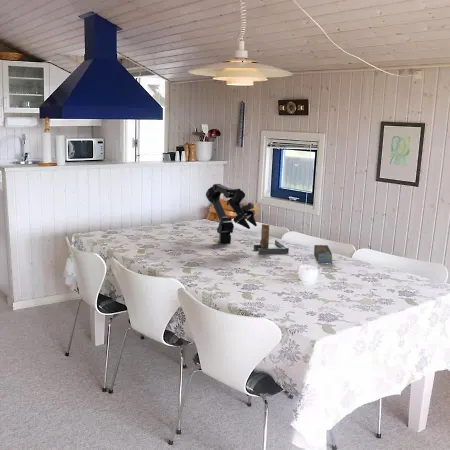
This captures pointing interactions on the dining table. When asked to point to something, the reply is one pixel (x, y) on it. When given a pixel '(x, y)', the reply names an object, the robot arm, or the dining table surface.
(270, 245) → the green pad
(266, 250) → the metal rail corridor
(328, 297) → the dining table surface
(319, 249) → the dark grey box
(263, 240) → the walnut post
